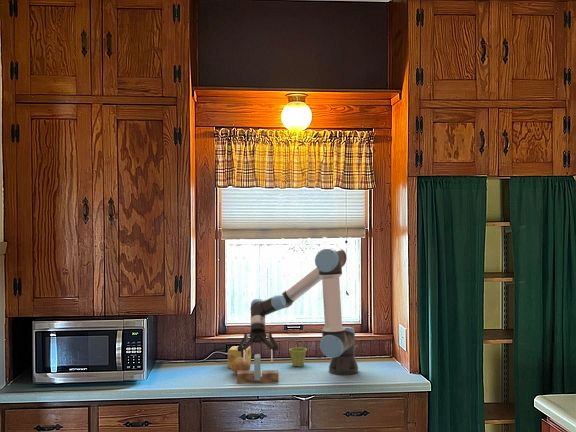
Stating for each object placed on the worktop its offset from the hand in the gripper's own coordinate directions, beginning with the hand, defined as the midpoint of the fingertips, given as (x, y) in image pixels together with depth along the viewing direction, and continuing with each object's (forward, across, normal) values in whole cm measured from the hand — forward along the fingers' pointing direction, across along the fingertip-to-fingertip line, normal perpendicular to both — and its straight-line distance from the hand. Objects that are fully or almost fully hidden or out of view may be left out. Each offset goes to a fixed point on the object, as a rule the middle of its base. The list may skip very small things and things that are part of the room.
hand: (258, 362), depth 322 cm
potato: (-2, +9, -15) cm, 18 cm away
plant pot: (-15, -21, -28) cm, 38 cm away
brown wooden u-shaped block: (+7, 0, -5) cm, 9 cm away
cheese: (-15, +10, -28) cm, 33 cm away
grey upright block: (+7, 0, -4) cm, 8 cm away
